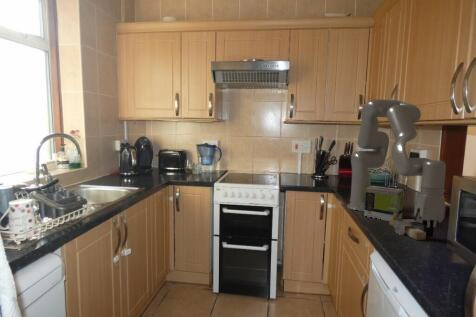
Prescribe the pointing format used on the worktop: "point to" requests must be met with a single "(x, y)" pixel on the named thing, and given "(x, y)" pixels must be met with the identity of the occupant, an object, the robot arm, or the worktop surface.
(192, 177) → the worktop surface
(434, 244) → the worktop surface
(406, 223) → the hook
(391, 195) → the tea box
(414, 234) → the pivot link
